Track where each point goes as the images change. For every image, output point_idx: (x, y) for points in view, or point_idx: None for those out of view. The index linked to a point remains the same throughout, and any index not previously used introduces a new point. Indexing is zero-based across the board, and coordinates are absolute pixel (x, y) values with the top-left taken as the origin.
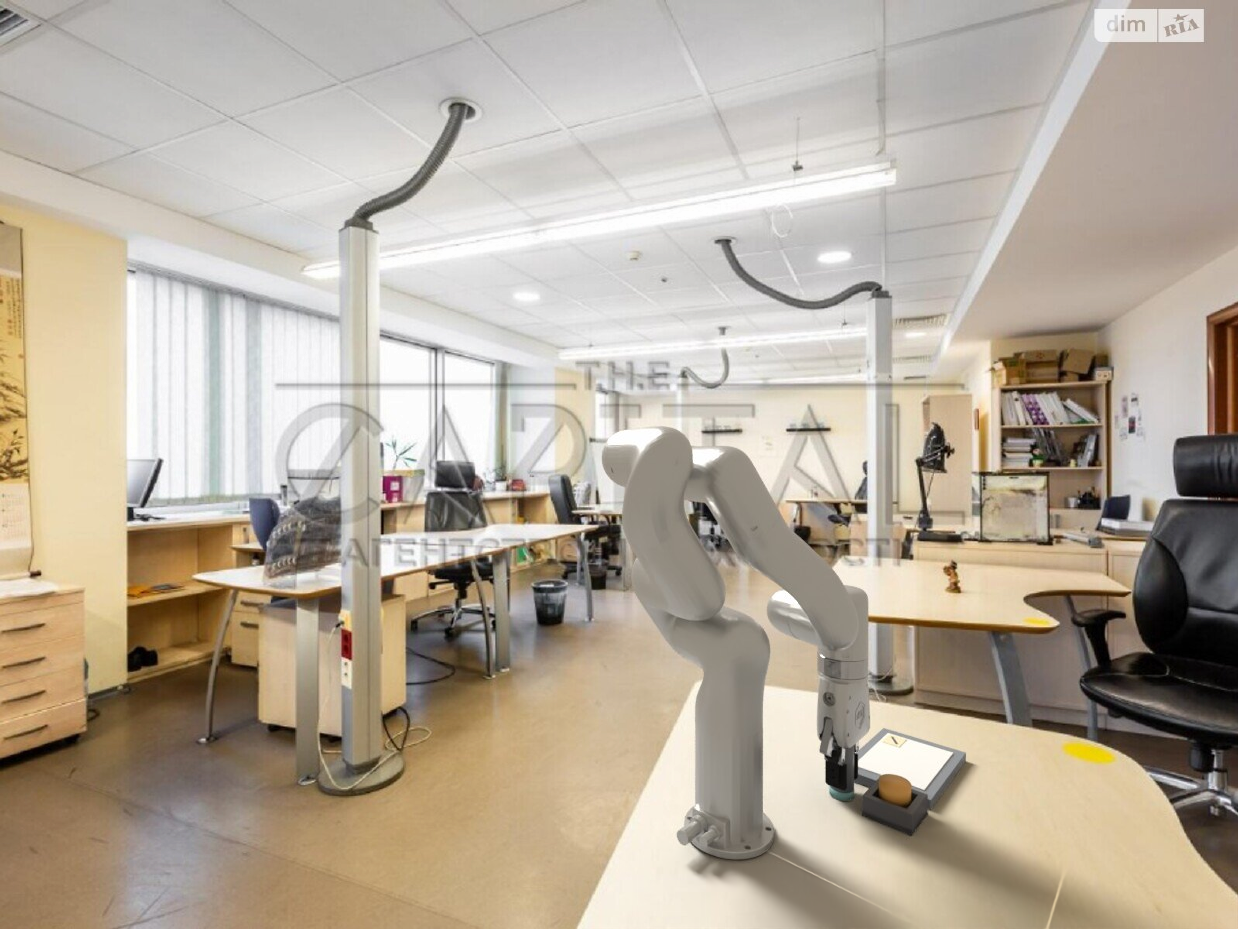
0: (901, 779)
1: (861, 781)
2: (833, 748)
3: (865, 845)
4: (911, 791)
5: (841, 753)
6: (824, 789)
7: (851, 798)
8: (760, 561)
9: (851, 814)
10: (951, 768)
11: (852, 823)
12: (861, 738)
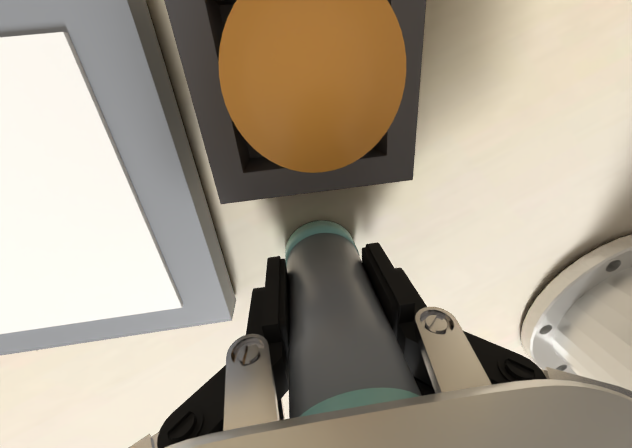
0: (255, 62)
1: (217, 252)
2: None
3: (520, 77)
4: (205, 30)
5: (478, 364)
6: None
7: (328, 223)
8: None
9: (388, 187)
10: None
11: (430, 162)
12: (338, 421)
